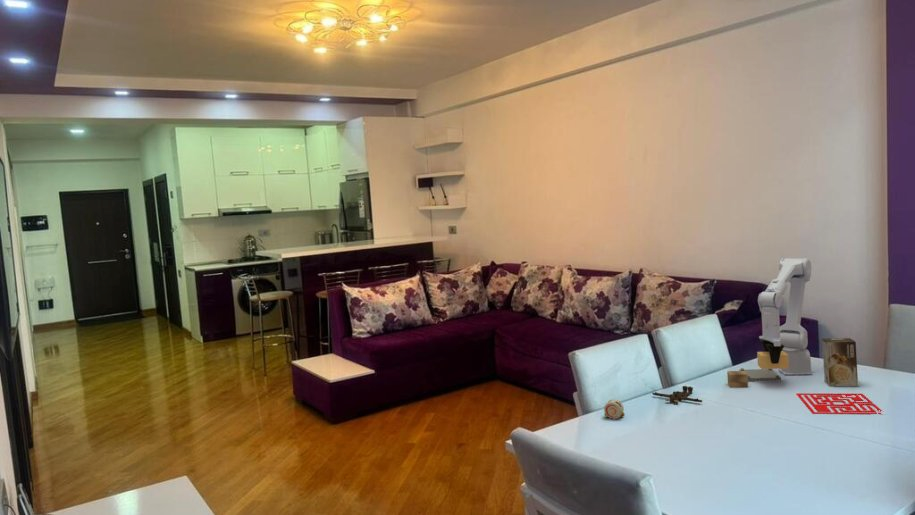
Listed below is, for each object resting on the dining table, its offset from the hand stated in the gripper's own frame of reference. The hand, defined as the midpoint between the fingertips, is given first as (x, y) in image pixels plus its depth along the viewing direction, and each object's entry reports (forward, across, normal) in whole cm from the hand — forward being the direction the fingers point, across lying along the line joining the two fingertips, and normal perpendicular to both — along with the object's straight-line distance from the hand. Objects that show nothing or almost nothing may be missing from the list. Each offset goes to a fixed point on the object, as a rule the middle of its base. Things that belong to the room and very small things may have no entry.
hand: (772, 361), depth 225 cm
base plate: (+8, -9, -2) cm, 12 cm away
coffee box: (+9, +2, +21) cm, 23 cm away
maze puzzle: (+9, +23, +13) cm, 28 cm away
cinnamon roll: (+8, +34, -58) cm, 68 cm away
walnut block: (+8, +2, -13) cm, 15 cm away
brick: (+2, 0, 0) cm, 2 cm away
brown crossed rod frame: (+9, +16, -35) cm, 39 cm away
